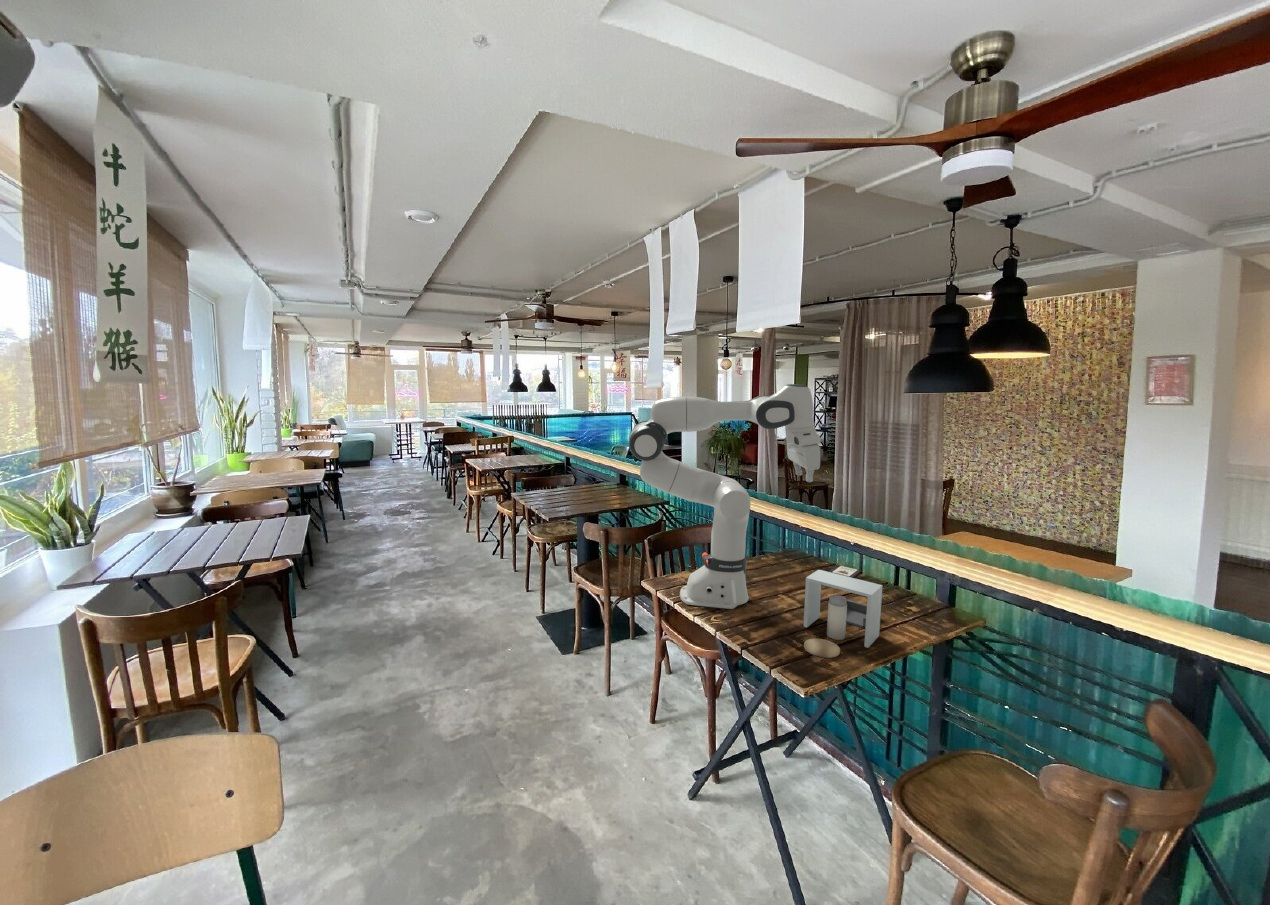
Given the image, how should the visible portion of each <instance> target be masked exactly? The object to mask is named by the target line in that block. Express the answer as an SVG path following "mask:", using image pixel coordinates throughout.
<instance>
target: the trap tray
mask: <svg viewBox="0 0 1270 905" xmlns="http://www.w3.org/2000/svg"><path fill="white" fill-rule="evenodd" d="M846 603H847V615H846V624H850V625H853V626H856V627H859V628H863V629H866V614H867V603H862V602H858V601H854V600H850V599H847V601H846Z"/></svg>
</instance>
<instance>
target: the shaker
mask: <svg viewBox="0 0 1270 905" xmlns="http://www.w3.org/2000/svg"><path fill="white" fill-rule="evenodd" d="M847 600H848V599H847V598H846V597H845V596H843V595H840V594H832V595H829V600H828V604H827V605H828V606H827V623H826V624H827V625H826V636H827V637H828V638H830V639H833V640H837V641H841V640H845V639H846V631H847V629H846V627H847V623H846V615H847V603H846V601H847Z"/></svg>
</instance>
